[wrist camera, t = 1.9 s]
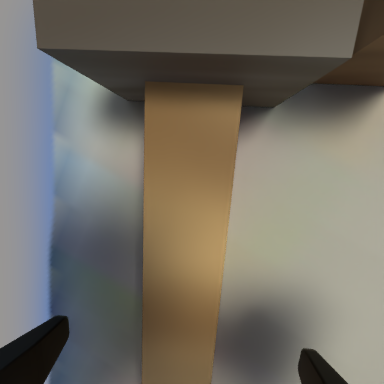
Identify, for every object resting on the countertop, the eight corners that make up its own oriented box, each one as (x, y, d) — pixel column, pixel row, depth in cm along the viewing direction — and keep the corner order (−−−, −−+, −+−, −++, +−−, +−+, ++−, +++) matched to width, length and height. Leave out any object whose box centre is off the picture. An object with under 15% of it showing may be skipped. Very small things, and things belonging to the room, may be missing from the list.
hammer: (229, 411, 13) (242, 574, 8) (130, 395, 13) (83, 539, 8) (277, 77, 8) (367, -17, 4) (128, 72, 9) (30, -19, 4)
